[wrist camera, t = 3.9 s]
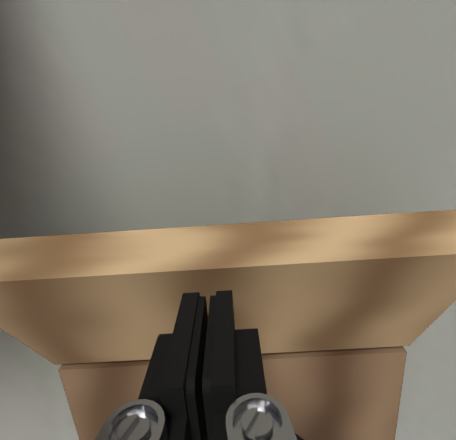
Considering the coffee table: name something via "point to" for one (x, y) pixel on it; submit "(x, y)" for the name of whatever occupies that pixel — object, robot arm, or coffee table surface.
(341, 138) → the coffee table surface
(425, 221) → the oak plank
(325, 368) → the walnut board
